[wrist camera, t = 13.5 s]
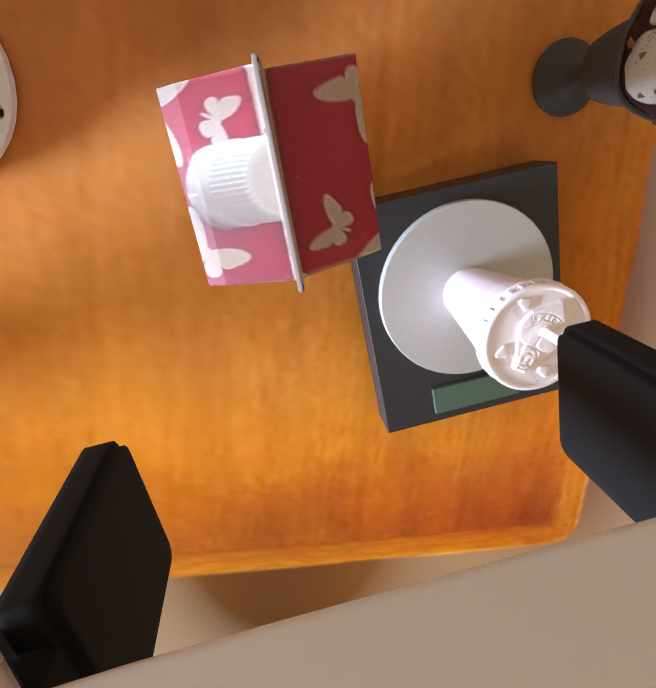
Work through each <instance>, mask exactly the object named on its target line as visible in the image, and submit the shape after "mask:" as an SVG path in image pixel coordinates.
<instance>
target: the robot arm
mask: <svg viewBox="0 0 656 688" xmlns="http://www.w3.org/2000/svg"><path fill="white" fill-rule="evenodd" d="M1 108H2V109H3V110H4V116H3V117H2V116H0V158H1V157H2V156H3V154H4V152H5V150H6V149H7V147H8V145H9V143H10V141H11V139H12V135H13V131H14V128H15V124H16V116H17V94H16V86H15V80H14V76H13V73H12V70H11V67H10V63H9V60H8V57H7V55H6V53H5V51H4V49H3V47H2V45H1V43H0V109H1ZM557 359H558V390H559V420H560V441H561V445H562V448H563V450H564V452H565V453H566V455H567V456H568V457H569V458H570V459H571V460H572V461H573V462H574V463H575V464H576V465H577V466H578V467H579V468H580V469H581V470H582V471H583V472H584V473H585V474H586V475H587V476H588V477H589V478H590V479H592V480H593V481H594V482H595V483H596V484H597V485H598V486H599V487H600V488H601V489H602V490H603V491H604V492H605V493H606V494H607V495H608V496H609V497H610V498H611V499H612V500H613V501H614V502H615V503H616V504H617V505H618V506H619V507H620V508H621V509H622V510H623V511H624V512H625V513H626V514H628V516H629V517H630V518H632V519H633V520H634V521H635V522H636V523H633V524H629V525H626V526H622V527H618V528H615V529H611V530H607V531H604V532H600V533H596V534H592V535H589V536H585V537H582V538H578V539H575V540H571V541H567V542H563V543H560V544H556V545H553V546H549V547H545V548H542V549H538V550H535V551H531V552H527V553H524V554H520V555H516V556H513V557H509V558H506V559H502V560H498V561H495V562H491V563H488V564H484V565H480V566H477V567H473V568H470V569H466V570H462V571H459V572H455V573H451V574H448V575H444V576H441V577H437V578H433V579H430V580H426V581H423V582H419V583H415V584H412V585H408V586H404V587H401V588H397V589H394V590H390V591H387V592H383V593H379V594H375V595H372V596H368V597H365V598H361V599H357V600H354V601H350V602H346V603H343V604H339V605H336V606H332V607H328V608H325V609H321V610H318V611H314V612H310V613H307V614H303V615H300V616H296V617H292V618H288V619H285V620H282V621H278V622H275V623H271V624H268V625H264V626H260V627H257V628H253V629H250V630H246V631H242V632H239V633H236V634H232V635H228V636H225V637H221V638H218V639H214V640H211V641H207V642H204V643H200V644H196V645H193V646H189V647H186V648H182V649H179V650H175V651H172V652H168V653H164V654H161V655H158V656H154V657H153V653H154V648H155V643H156V638H157V633H158V627H159V622H160V617H161V612H162V607H163V602H164V597H165V591H166V586H167V581H168V576H169V571H170V566H171V560H172V554H171V548H170V544H169V541H168V539H167V537H166V534H165V532H164V530H163V527H162V525H161V523H160V520H159V518H158V516H157V513H156V511H155V509H154V506H153V504H152V502H151V499H150V497H149V495H148V492H147V490H146V488H145V485H144V483H143V481H142V478H141V476H140V474H139V471H138V469H137V467H136V464H135V462H134V460H133V457H132V455H131V453H130V451H129V449H128V448H127V446H125V445H123V446H119V445H118V444H117V443H116V442H114V441H111V442H107V443H103V444H99V445H95V446H91V447H87V448H84V449H83V450H82V452H81V454H80V455H79V457H78V459H77V461H76V463H75V464H74V466H73V468H72V470H71V471H70V473H69V475H68V477H67V479H66V480H65V482H64V484H63V486H62V487H61V489H60V491H59V493H58V495H57V496H56V498H55V500H54V502H53V503H52V505H51V507H50V509H49V511H48V512H47V514H46V516H45V518H44V519H43V521H42V523H41V525H40V527H39V528H38V530H37V532H36V534H35V535H34V537H33V539H32V541H31V543H30V544H29V546H28V548H27V550H26V551H25V553H24V555H23V557H22V559H21V560H20V562H19V564H18V566H17V567H16V569H15V571H14V573H13V575H12V576H11V578H10V580H9V582H8V583H7V585H6V587H5V589H4V591H3V592H2V594H1V596H0V688H656V350H655V349H653V348H651V347H649V346H647V345H645V344H643V343H641V342H639V341H637V340H635V339H633V338H631V337H629V336H627V335H625V334H623V333H621V332H619V331H617V330H615V329H613V328H611V327H609V326H607V325H605V324H603V323H601V322H599V321H597V320H590V321H586V322H582V323H578V324H574V325H570V326H567V327H566V328H565V329H564V332H563V334H562V335H559V337H558V339H557Z"/></svg>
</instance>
